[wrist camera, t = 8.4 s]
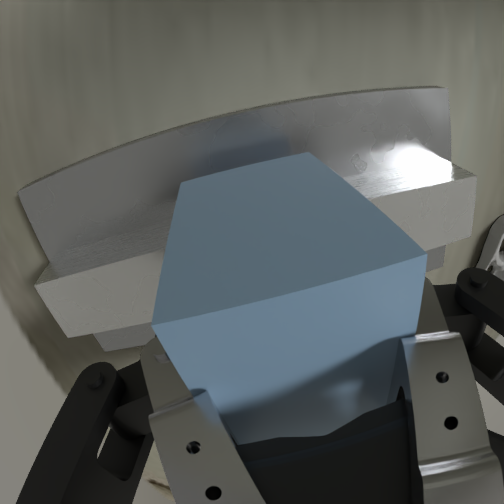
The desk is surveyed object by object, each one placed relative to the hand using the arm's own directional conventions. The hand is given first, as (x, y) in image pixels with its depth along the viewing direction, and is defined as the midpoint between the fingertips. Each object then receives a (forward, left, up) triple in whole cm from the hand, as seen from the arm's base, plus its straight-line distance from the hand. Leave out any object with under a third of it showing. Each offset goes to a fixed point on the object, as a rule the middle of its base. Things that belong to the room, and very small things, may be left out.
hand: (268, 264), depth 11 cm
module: (0, 0, -1) cm, 1 cm away
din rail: (0, 0, -4) cm, 4 cm away
